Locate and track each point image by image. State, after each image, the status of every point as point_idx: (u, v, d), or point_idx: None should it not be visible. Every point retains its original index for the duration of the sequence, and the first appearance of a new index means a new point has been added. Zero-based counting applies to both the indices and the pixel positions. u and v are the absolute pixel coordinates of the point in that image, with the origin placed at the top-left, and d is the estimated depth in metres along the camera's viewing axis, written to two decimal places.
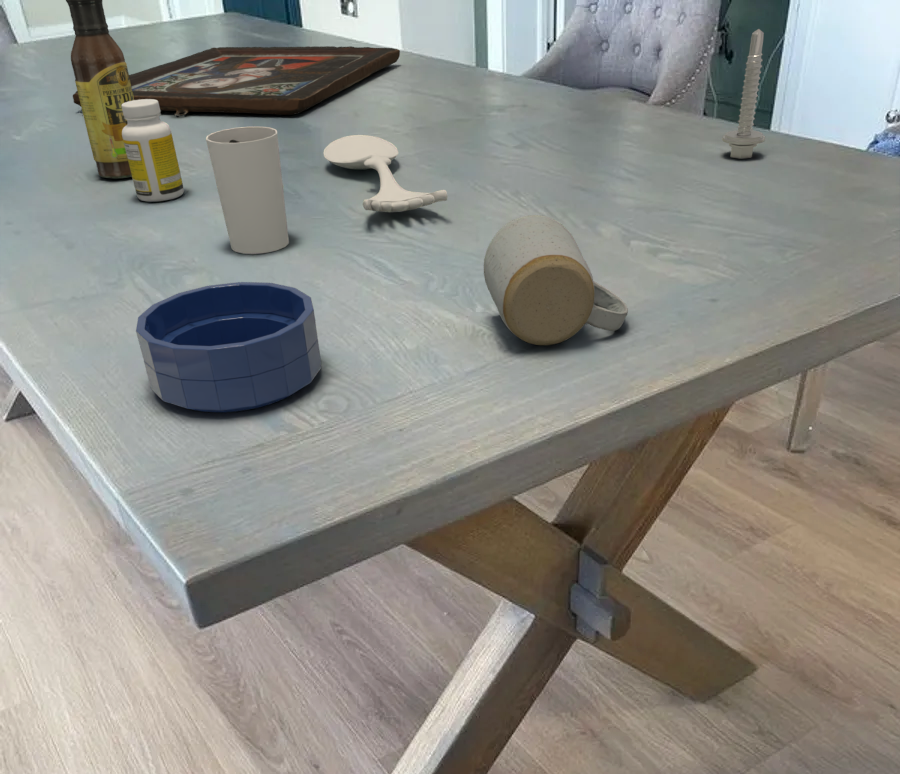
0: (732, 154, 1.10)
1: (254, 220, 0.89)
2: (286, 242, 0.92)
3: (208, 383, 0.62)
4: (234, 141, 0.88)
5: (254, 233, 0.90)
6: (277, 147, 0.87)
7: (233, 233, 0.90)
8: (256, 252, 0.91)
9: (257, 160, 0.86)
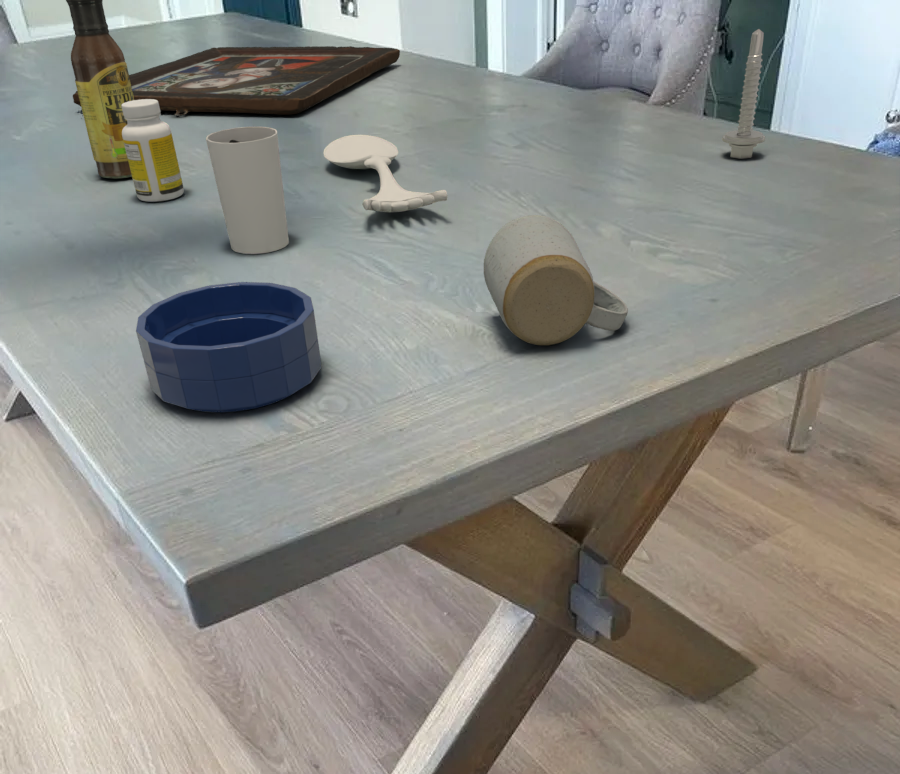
0: (732, 154, 1.10)
1: (254, 220, 0.89)
2: (286, 242, 0.92)
3: (208, 383, 0.62)
4: (234, 141, 0.88)
5: (254, 233, 0.90)
6: (277, 147, 0.87)
7: (233, 233, 0.90)
8: (256, 252, 0.91)
9: (257, 160, 0.86)
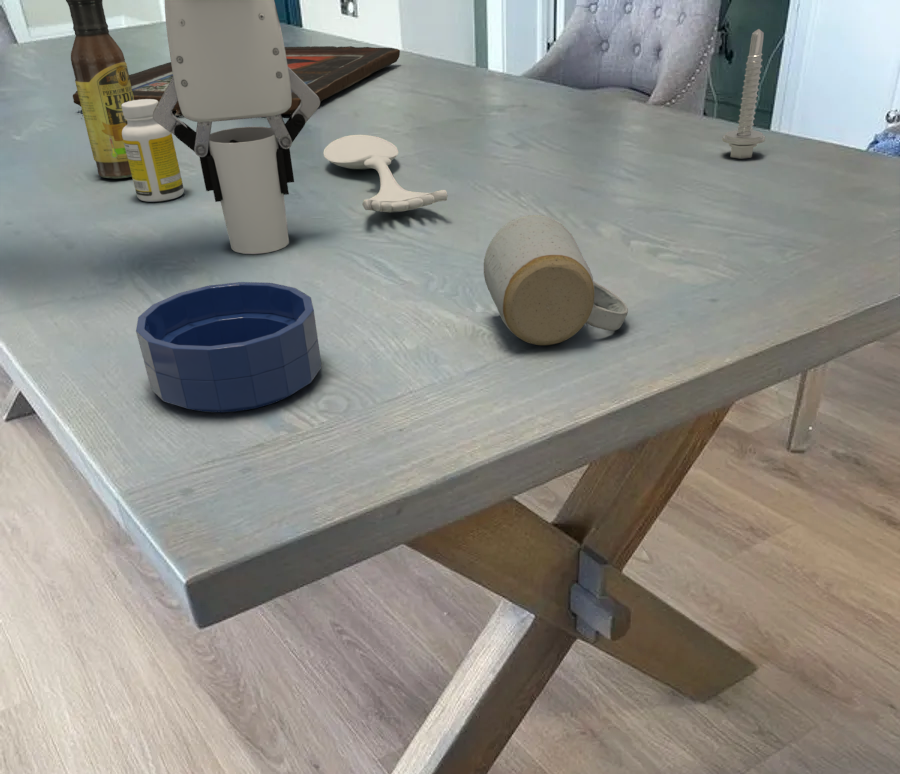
0: (732, 154, 1.10)
1: (254, 220, 0.89)
2: (286, 242, 0.92)
3: (208, 383, 0.62)
4: (234, 141, 0.88)
5: (254, 233, 0.90)
6: (277, 147, 0.87)
7: (233, 233, 0.90)
8: (256, 252, 0.91)
9: (257, 160, 0.86)
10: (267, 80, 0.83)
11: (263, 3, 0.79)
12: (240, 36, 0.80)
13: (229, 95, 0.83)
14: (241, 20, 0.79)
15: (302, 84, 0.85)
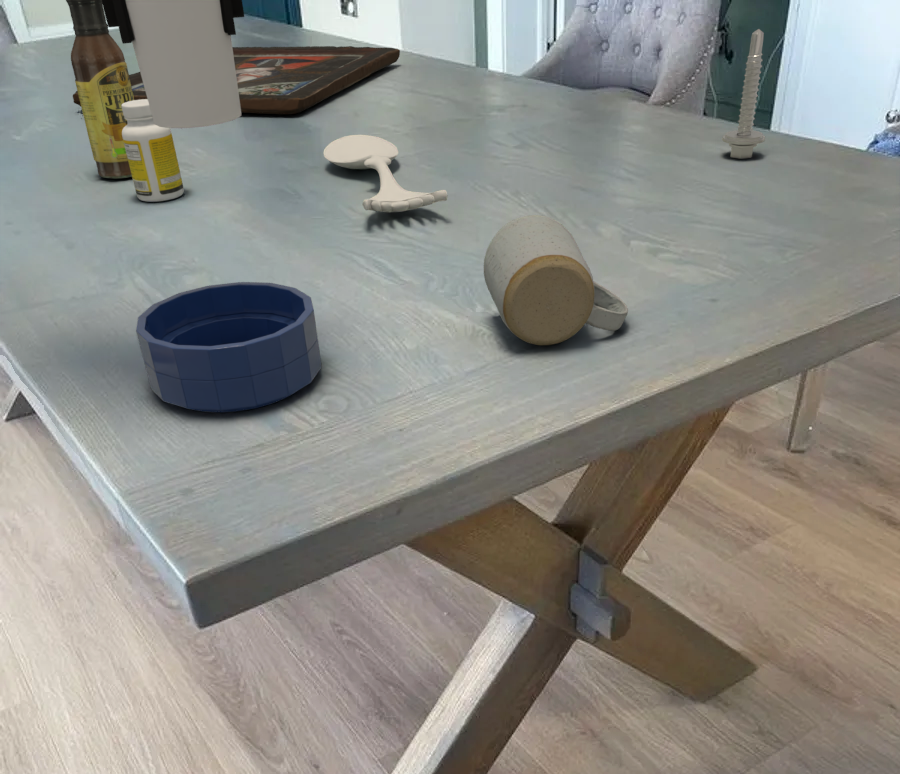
0: (732, 154, 1.10)
1: (184, 72, 0.58)
2: (237, 113, 0.61)
3: (208, 383, 0.62)
4: None
5: (185, 94, 0.59)
6: None
7: (154, 96, 0.59)
8: (190, 125, 0.60)
9: None
10: None
11: None
12: None
13: None
14: None
15: None
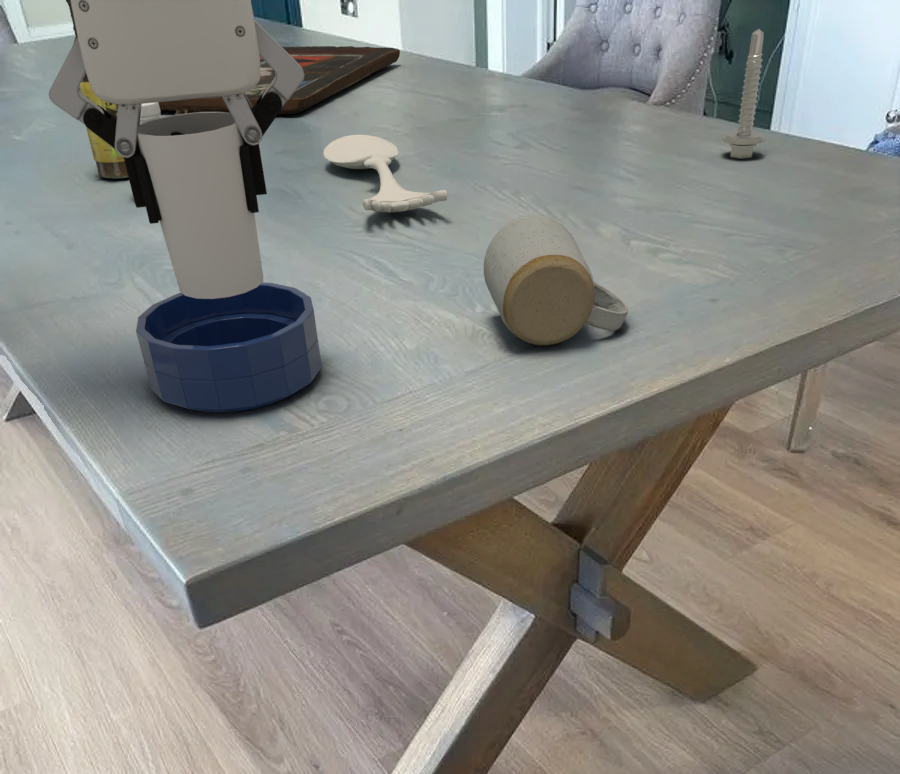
0: (732, 154, 1.10)
1: (209, 250, 0.60)
2: (259, 280, 0.63)
3: (208, 383, 0.62)
4: (177, 134, 0.59)
5: (210, 269, 0.61)
6: (241, 141, 0.58)
7: (180, 269, 0.61)
8: (214, 296, 0.62)
9: (210, 161, 0.57)
10: (221, 39, 0.54)
11: None
12: None
13: (164, 62, 0.54)
14: None
15: (277, 47, 0.56)
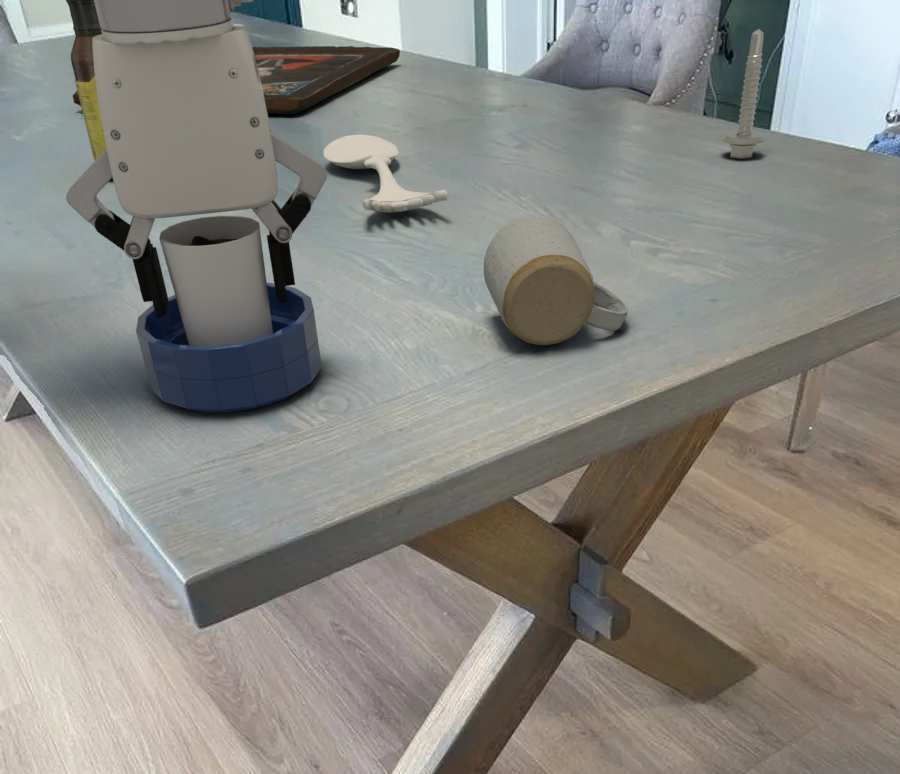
0: (732, 154, 1.10)
1: None
2: None
3: (208, 383, 0.62)
4: (199, 238, 0.63)
5: None
6: (260, 247, 0.62)
7: None
8: None
9: (231, 267, 0.61)
10: (242, 161, 0.58)
11: (235, 54, 0.55)
12: (202, 101, 0.55)
13: (189, 182, 0.58)
14: (203, 79, 0.55)
15: (297, 154, 0.60)
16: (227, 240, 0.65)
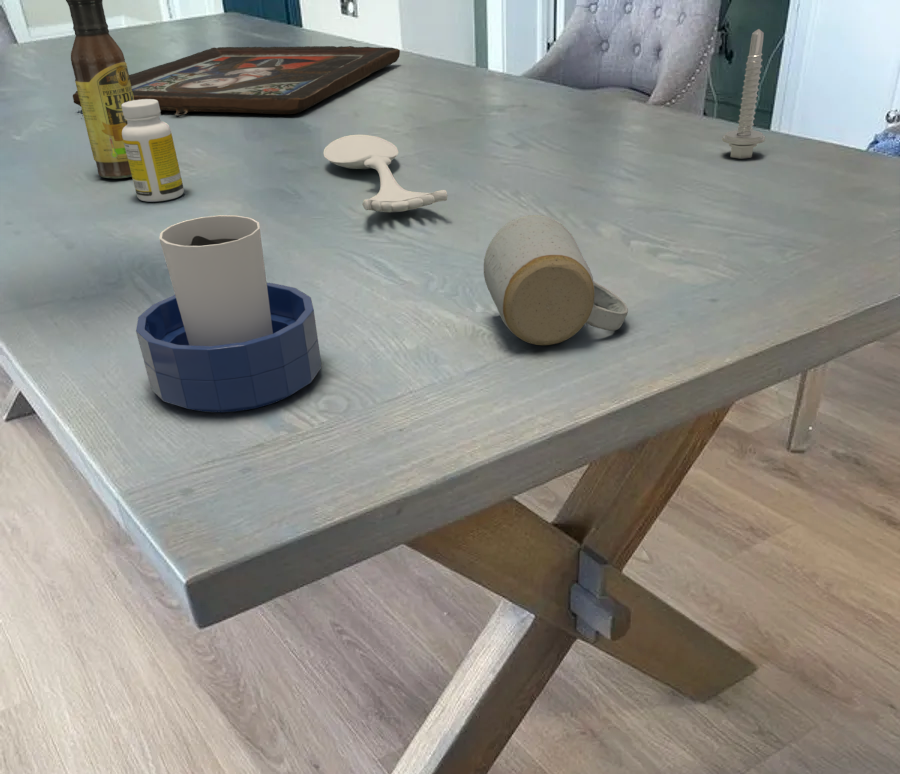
0: (732, 154, 1.10)
1: None
2: None
3: (208, 383, 0.62)
4: (200, 238, 0.63)
5: None
6: (260, 247, 0.62)
7: None
8: None
9: (231, 267, 0.61)
10: None
11: None
12: None
13: None
14: None
15: None
16: (227, 240, 0.65)
